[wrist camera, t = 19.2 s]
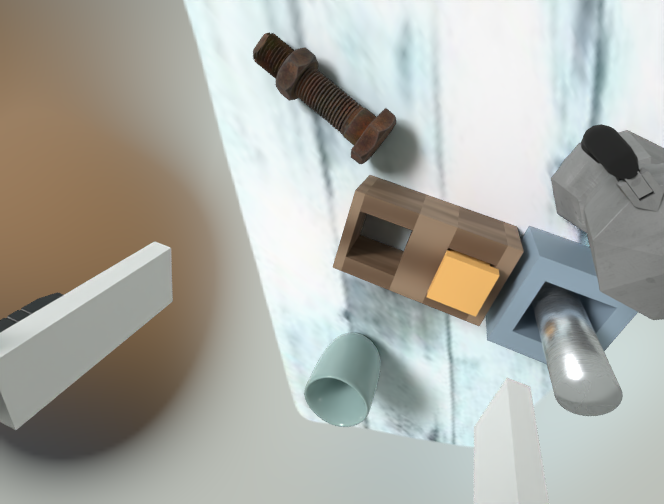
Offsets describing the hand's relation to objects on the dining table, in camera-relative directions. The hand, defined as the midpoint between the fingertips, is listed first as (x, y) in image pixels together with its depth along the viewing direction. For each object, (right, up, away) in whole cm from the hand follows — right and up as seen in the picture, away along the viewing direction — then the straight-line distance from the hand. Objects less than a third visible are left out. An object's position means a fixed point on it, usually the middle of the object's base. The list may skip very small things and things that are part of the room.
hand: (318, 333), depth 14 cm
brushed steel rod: (+23, 0, +26) cm, 35 cm away
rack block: (+23, 0, +26) cm, 35 cm away
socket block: (+11, +5, +28) cm, 30 cm away
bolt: (0, +20, +25) cm, 32 cm away
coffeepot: (+25, +10, +20) cm, 34 cm away
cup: (+4, -10, +38) cm, 39 cm away
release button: (+14, +3, +26) cm, 30 cm away
